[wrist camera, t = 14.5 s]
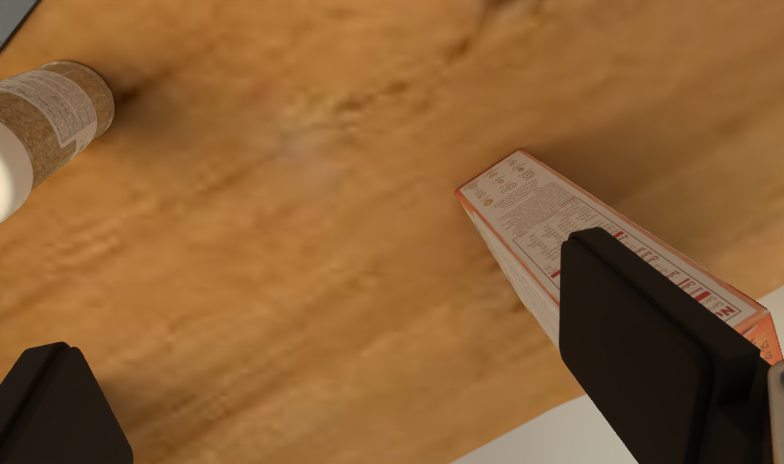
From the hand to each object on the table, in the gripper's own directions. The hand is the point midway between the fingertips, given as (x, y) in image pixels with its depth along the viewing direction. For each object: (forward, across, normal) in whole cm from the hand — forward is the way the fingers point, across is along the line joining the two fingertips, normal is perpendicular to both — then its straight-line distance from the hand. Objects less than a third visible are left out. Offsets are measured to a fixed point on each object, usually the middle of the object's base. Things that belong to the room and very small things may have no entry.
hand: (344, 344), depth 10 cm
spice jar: (+24, +12, -2) cm, 28 cm away
